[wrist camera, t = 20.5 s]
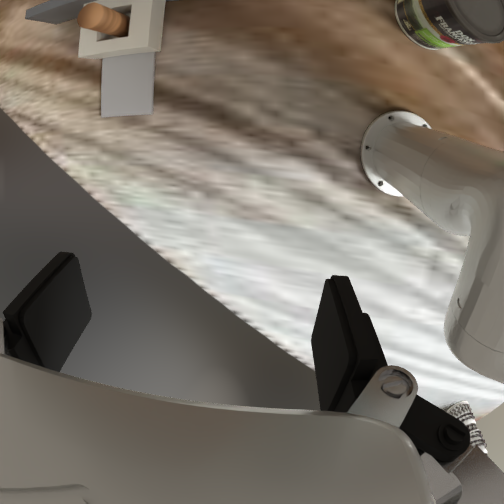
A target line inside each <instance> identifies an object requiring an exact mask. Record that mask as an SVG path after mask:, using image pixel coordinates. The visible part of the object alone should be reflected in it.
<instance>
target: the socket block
mask: <svg viewBox="0 0 504 504" xmlns="http://www.w3.org/2000/svg"><path fill="white" fill-rule="evenodd" d="M93 2H95V3H98V4H101V5H103V6H106V7H108V8H110V9H113V10H115V11H117V12H120V13H122V14H124V15H126V16H129V17H130V25H129V36H128V37H121V38H119V37H116V36H112V35H108V34H105V33H101V32H97V31H93V30H89V29H85V28H82V27H81V30H80V40H79V52H78V57H79V58H88V59H102V58H108V57H114V56H121V55H129V54H138V53H148V52H159V51H161V43H162V31H163V21H164V11H165V3H166V0H97V1H93ZM93 2H90V3H93ZM87 4H89V3H86V4H84V6H86V5H87ZM84 6H83V7H84Z"/></svg>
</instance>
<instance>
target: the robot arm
mask: <svg viewBox="0 0 504 504" xmlns="http://www.w3.org/2000/svg"><path fill="white" fill-rule="evenodd" d="M389 116H390V119H388V117H389ZM422 125H423V126H422ZM366 145H367V146H368V148H365V147H366ZM361 162H362V166H363V169H364V172H365V174H366V175H367V177H368V179H369V180H370V181H371V182H372V183H373V185H374V186H376V187H377V188H378V189H379V190H381V191H382V192H384V193H386V194H389V195H392V196H404V197H405V198H407V199H408V200H409V201H410V202H411V203H413V204H414V205H415V206H416V207H417V208H418V209H419V210H421V211H422V212H423V213H424V214H425V215H426V216H427V217H429V218H430V219H431V220H432V221H433V222H434V223H435V224H437V225H438V226H439V227H440V228H442V229H443V230H445V231H447V232H449V233H451V234H454V235H459V236H470V238H469V242H468V246H467V250H466V253H465V260H464V263H463V266H462V269H461V272H460V275H459V278H458V281H457V284H456V287H455V290H454V293H453V296H452V298H451V301H450V304H449V307H448V310H447V313H446V317H445V322H444V335H445V339H446V343H447V345H448V347H449V348H450V350H451V352H452V353H453V354H454V355H455V357H456V358H457V359H458V360H459V361H461V362H462V363H463V364H464V365H466V366H467V367H469V368H470V369H472V370H474V371H475V372H477V373H479V374H481V375H483V376H486V377H488V378H491V379H493V380H496V381H498V382H501V383H503V384H504V151H499V150H495V149H492V148H489V147H486V146H482V145H479V144H476V143H474V142H471V141H468V140H465V139H462V138H459V137H456V136H453V135H450V134H447V133H443V132H440V131H437V130H433V129H432V128H431V127H430V125H429V124H428V123H427V122H426V121H425V120H424V119H422V118H421V117H419V116H418V115H416V114H413V113H411V112H407V111H391V112H387V113H385V114H382V115H381V116H379V117H378V118H376V119H375V120H374V121H373V122H372V123H371V124H370V125H369V127H368V129H367V130H366V132H365V134H364V137H363V139H362V144H361ZM378 181H380V182H379V183H378ZM3 314H4V316H5V318H6V319H5V321H4V322H3V320H2V319H1V318H0V504H434V502H433V499H432V495H433V496H434V498H435V500H436V504H504V473H503V472H502V471H501V470H500V469H499V468H498V467H497V465H496V464H495V463H494V462H493V461H492V460H491V459H490V458H489V457H488V456H487V455H486V454H485V453H484V452H483V451H482V450H481V449H480V448H479V447H478V446H477V445H476V446H475V447H473V446H472V445H471V444H470V433H469V430H468V428H467V427H466V425H465V424H464V423H463V422H461V421H460V420H459V419H457V418H455V417H454V416H452V415H450V414H448V413H447V412H445V411H443V410H442V409H440V408H438V407H437V406H435V405H433V404H432V403H430V402H428V401H427V400H425V399H423V398H422V397H420V396H418V395H417V391H418V385H417V382H416V379H415V377H414V376H413V375H412V374H411V373H410V372H409V371H407V370H406V369H404V368H401V367H399V366H392V365H391V366H388V365H387V362H386V359H385V356H384V354H383V351H382V348H381V345H380V343H379V340H378V337H377V335H376V332H375V329H374V327H373V324H372V322H371V319H370V317H369V315H368V314H367V313H362V310H361V308H360V305H359V302H358V300H357V297H356V295H355V292H354V290H353V287H352V285H351V282H350V280H349V277H348V276H337V275H332V276H331V279H326V281H325V284H324V288H323V293H322V297H321V301H320V305H319V309H318V313H317V317H316V321H315V325H314V329H313V333H312V338H311V345H312V351H313V358H314V365H315V372H316V379H317V385H318V394H319V401H320V409H321V411H316V410H295V409H273V408H258V407H246V406H234V405H223V404H214V403H205V402H198V401H190V400H183V399H177V398H169V397H164V396H158V395H152V394H146V393H142V392H137V391H132V390H127V389H123V388H117V387H113V386H109V385H105V384H101V383H97V382H93V381H89V380H85V379H81V378H78V377H74V376H70V375H67V374H64V373H60V370H61V368H62V366H63V365H64V363H65V361H66V359H67V357H68V356H69V354H70V352H71V351H72V349H73V347H74V346H75V344H76V342H77V341H78V339H79V337H80V336H81V333H83V331H84V329H85V327H86V326H87V324H88V323H89V321H90V319H91V308H90V305H89V301H88V297H87V294H86V290H85V286H84V282H83V277H82V273H81V269H80V264H79V260H78V258H77V257H75V255H74V254H73V253H69V252H59V253H58V254H57V255H56V256H55V257H54V258H53V259H52V260H51V261H50V262H49V263H48V264H47V265H46V266H45V267H44V268H43V269H42V270H41V271H40V272H39V273H38V274H37V275H36V276H35V277H34V278H33V279H32V280H31V282H30V283H29V284H28V285H27V286H26V287H25V288H24V289H23V290H22V292H20V293H19V294H18V296H17V297H16V298H15V299H14V300H13V301H12V302H11V303H10V305H9V306H8V307H7V308H6V309H5V310H4V311H3Z"/></svg>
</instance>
